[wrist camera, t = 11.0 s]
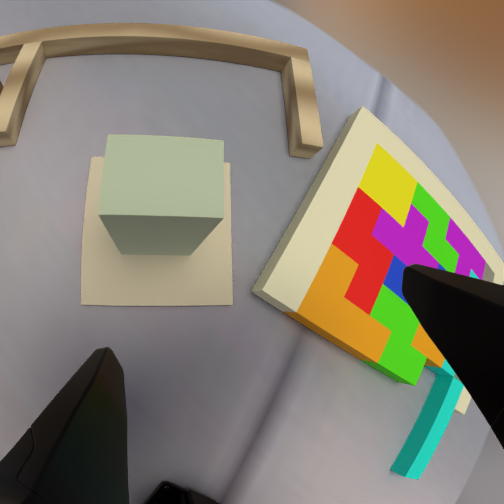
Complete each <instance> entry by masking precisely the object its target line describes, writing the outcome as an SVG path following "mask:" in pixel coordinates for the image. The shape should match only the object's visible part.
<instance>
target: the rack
mask: <svg viewBox="0 0 504 504" xmlns="http://www.w3.org/2000/svg"><path fill="white" fill-rule="evenodd" d="M88 54H151V55H168V56H181V57H192V58H201V59H210V60H217V61H225V62H231V63H238V64H244V65H249V66H255V67H260V68H265V69H270V70H275V71H280V72H281V74H282V83H283V92H284V101H285V111H286V121H287V132H288V143H289V154H290V156H295V157H302V158H308V159H310V158H311V157H312V156H314V155H315V154H316V153H317V152H318V151H319V150H321V149H322V148H323V141H322V133H321V127H320V120H319V113H318V107H317V101H316V95H315V89H314V83H313V78H312V72H311V67H310V62H309V57H308V52H307V49H305V48H302V47H298V46H294V45H290V44H287V43H283V42H278V41H274V40H270V39H265V38H261V37H256V36H251V35H246V34H240V33H234V32H228V31H222V30H215V29H208V28H200V27H191V26H180V25H167V24H148V23H102V24H83V25H71V26H61V27H53V28H45V29H38V30H32V31H26V32H20V33H15V34H10V35H5V36H1V37H0V65H2V64H7V63H13V62H15V63H14V65H13V67H12V69H11V72H10V74H9V76H8V78H7V81H6V83H5V85H4V88H3V90H2V92H1V95H0V147H1V146H12V145H16V142H17V138H18V135H19V131H20V128H21V124H22V121H23V118H24V115H25V112H26V109H27V106H28V103H29V100H30V97H31V94H32V91H33V89H34V86H35V83H36V81H37V78H38V76H39V73H40V71H41V69H42V66H43V64H44V61H45V59H46V58H49V57H59V56H71V55H88Z"/></svg>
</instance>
